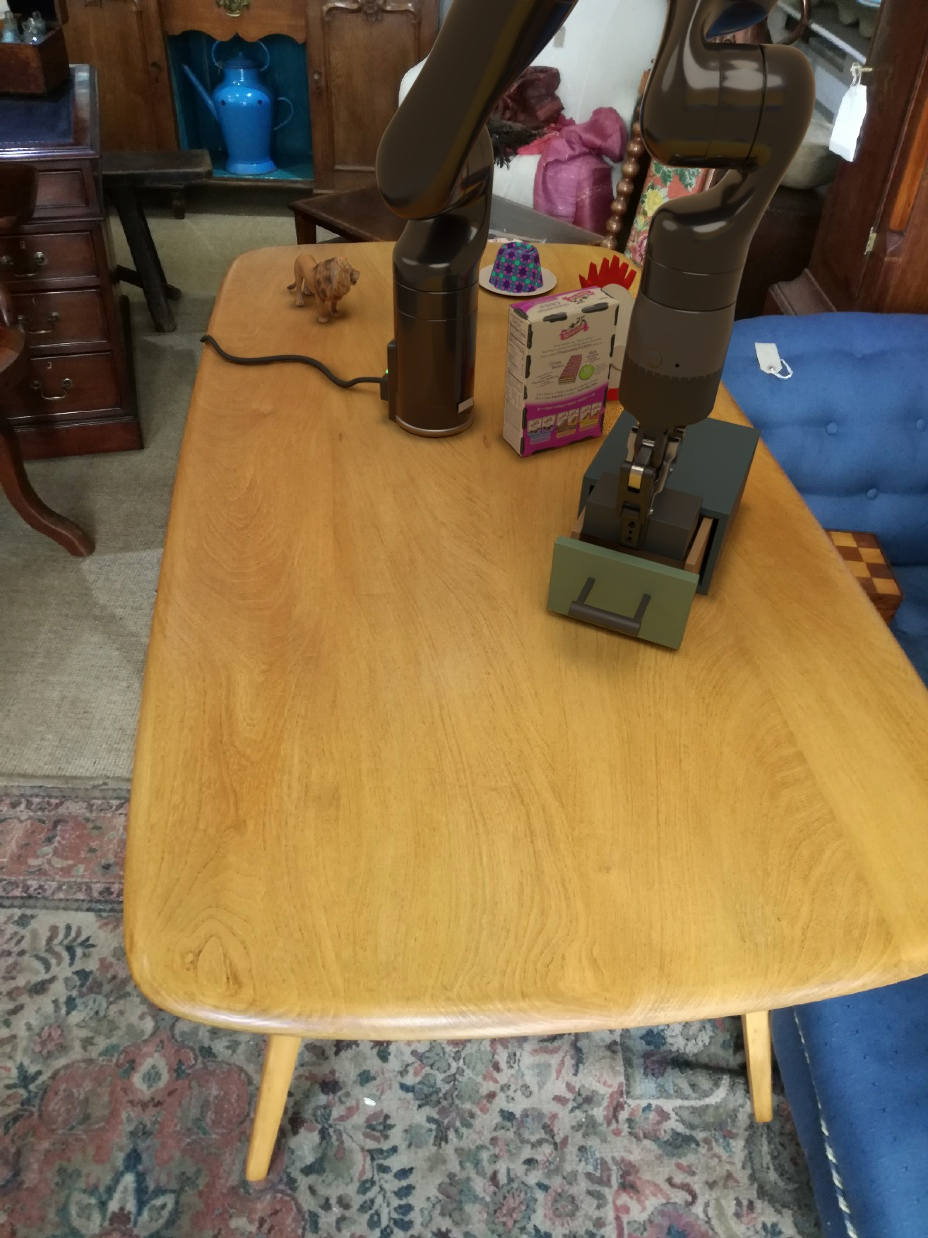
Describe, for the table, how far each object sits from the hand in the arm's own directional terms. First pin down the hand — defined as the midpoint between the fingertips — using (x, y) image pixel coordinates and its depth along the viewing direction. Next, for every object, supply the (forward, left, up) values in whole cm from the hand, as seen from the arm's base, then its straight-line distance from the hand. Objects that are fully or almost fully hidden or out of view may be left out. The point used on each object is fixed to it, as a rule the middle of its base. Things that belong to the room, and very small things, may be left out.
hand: (639, 527), depth 82 cm
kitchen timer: (-16, +41, -9) cm, 45 cm away
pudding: (-35, +62, -9) cm, 72 cm away
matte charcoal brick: (0, 0, 0) cm, 0 cm away
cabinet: (0, +12, -9) cm, 15 cm away
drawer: (0, 0, -8) cm, 8 cm away
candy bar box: (-16, +24, -9) cm, 30 cm away
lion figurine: (-56, +41, -9) cm, 70 cm away
